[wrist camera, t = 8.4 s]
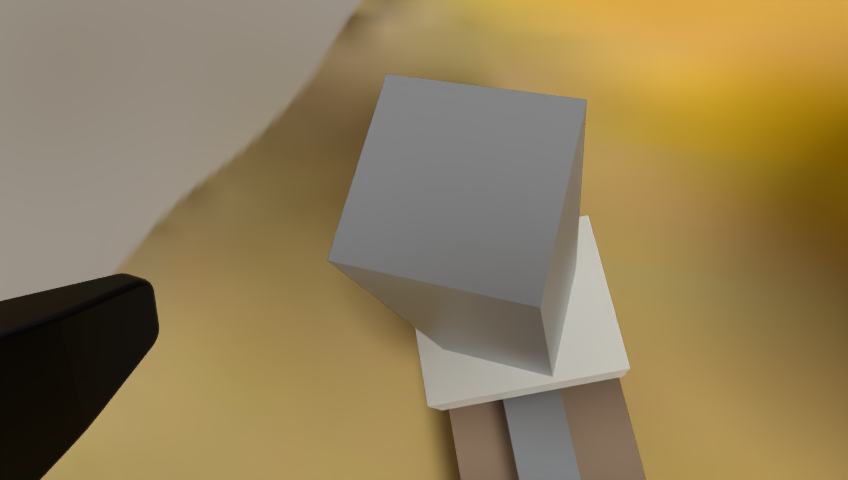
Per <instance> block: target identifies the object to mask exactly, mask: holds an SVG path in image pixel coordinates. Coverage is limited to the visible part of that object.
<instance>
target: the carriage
mask: <svg viewBox="0 0 848 480" xmlns="http://www.w3.org/2000/svg"><path fill="white" fill-rule="evenodd" d="M586 106H587V100H586V99H578V98H570V97H562V96H555V95H547V94H539V93H531V92H523V91H516V90H508V89H500V88H492V87H484V86H476V85H469V84H461V83H453V82H445V81H437V80H429V79H422V78H414V77H406V76H398V75H390V74H386V77H385V80H384V83H383V86H382V89H381V92H380V96H379V99H378V102H377V105H376V108H375V111H374V114H373V118H372V121H371V124H370V127H369V130H368V133H367V137H366V140H365V143H364V146H363V149H362V152H361V155H360V159H359V162H358V165H357V168H356V171H355V174H354V178H353V181H352V184H351V187H350V190H349V193H348V196H347V200H346V203H345V206H344V209H343V212H342V215H341V219H340V222H339V225H338V228H337V231H336V234H335V237H334V241H333V244H332V247H331V250H330V253H329V256H328V261H329V262H330V263H331V264H333V265H334V266H335V267H337V268H338V269H339V270H341V271H342V272H343V273H344V274H346V275H347V276H348V277H350V278H351V279H352V280H354V281H355V282H356V283H358V284H359V285H360V286H361V287H363V288H364V289H365V290H367V291H368V292H369V293H371V294H372V295H373V296H374V297H376V298H377V299H378V300H380V301H381V302H382V303H384V304H385V305H386V306H387V307H389V308H390V309H391V310H393V311H394V312H395V313H397V314H398V315H399V316H401V317H402V318H403V319H404V320H406V321H407V322H408V323H410V324H411V325H412V326H414V327H415V330H416V336H417V343H418V349H419V355H420V361H421V367H422V374H423V380H424V386H425V392H426V398H427V405H428V407H431V408H435V409H439V410H447V409H453V408H458V407H463V406H469V405H474V404H479V403H485V402H490V401H496V400H501V399H506V398H512V397H517V396H522V395H528V394H533V393H538V392H544V391H549V390H554V389H560V388H565V387H570V386H576V385H581V384H586V383H592V382H597V381H602V380H608V379H613V378H618V377H623V376H624V375H625V374H626V373H627V371H628V370H629V369H630V366H629V362H628V359H627V355H626V351H625V348H624V344H623V340H622V337H621V333H620V329H619V326H618V322H617V318H616V315H615V311H614V307H613V304H612V300H611V297H610V293H609V289H608V286H607V282H606V278H605V275H604V271H603V267H602V264H601V260H600V256H599V253H598V249H597V245H596V242H595V238H594V235H593V231H592V227H591V224H590V220H589V216H588V215H586V216H582V217H579V214H580V199H581V183H582V168H583V152H584V137H585V121H586Z"/></svg>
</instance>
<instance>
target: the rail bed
mask: <svg viewBox="0 0 848 480" xmlns="http://www.w3.org/2000/svg"><path fill="white" fill-rule="evenodd" d="M449 414H450V420H451V426H452V432H453V437H454V443H455V449H456V455H457V461H458V467H459V472H460V478H461V480H646V478H645V474H644V470H643V466H642V463H641V459H640V455H639V451H638V448H637V444H636V440H635V436H634V433H633V429H632V425H631V421H630V418H629V414H628V410H627V406H626V403H625V399H624V395H623V391H622V388H621V384H620V380H619V377H618V378H613V379H608V380H602V381H597V382H592V383H586V384H581V385H576V386H570V387H565V388H560V389H554V390H549V391H544V392H538V393H533V394H528V395H522V396H517V397H512V398H506V399H501V400H496V401H490V402H485V403H479V404H474V405H469V406H463V407H458V408H453V409H449Z"/></svg>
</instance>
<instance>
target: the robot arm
mask: <svg viewBox="0 0 848 480" xmlns="http://www.w3.org/2000/svg"><path fill="white" fill-rule="evenodd" d="M158 334H159V322H158V315H157V308H156V302H155V295H154V289H153V287H152V285H151V283H150V282H148V281H147V280H145V279H142V278H139V277H136V276H133V275H130V274H116V275H111V276H107V277H103V278H98V279H94V280H90V281H85V282H81V283H77V284H72V285H68V286H64V287H60V288H55V289H51V290H47V291H43V292H39V293H34V294H30V295H25V296H21V297H16V298H12V299H8V300H3V301H0V480H40V479H41V478H42V477H43V476H44V475H45V474H46V473H47V472H48V471H49V470H50V469H51V468H52V467H53V466H54V465H55V463H56V462H57V461H58V460H59V459H60V458H61V457H62V456H63V455H64V454H65V453H66V452H67V451H68V450H69V449H70V447H71V446H72V445H73V444H74V443H75V442H76V441H77V440H78V439H79V438H80V437H81V435H82V434H83V433H84V432H85V431H86V430H87V429H88V427H89V426H90V425H91V424H92V423H93V421H94V420H95V419H96V418H97V416H98V415H99V414H100V413H101V411H102V410H103V409H104V408H105V406H106V405H107V404H108V402H109V401H110V400H111V399H112V397H113V396H114V395H115V394H116V392H117V391H118V390H119V388H120V387H121V386H122V385H123V383H124V382H125V381H126V379H127V378H128V377H129V376H130V374H131V373H132V372H133V371H134V369H135V368H136V367H137V365H138V364H139V363H140V362H141V360H142V359H143V358H144V356H145V355H146V354H147V353H148V351H149V350H150V349H151V348H152V346H153V345H154V343H155V341H156V339H157V337H158Z"/></svg>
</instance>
